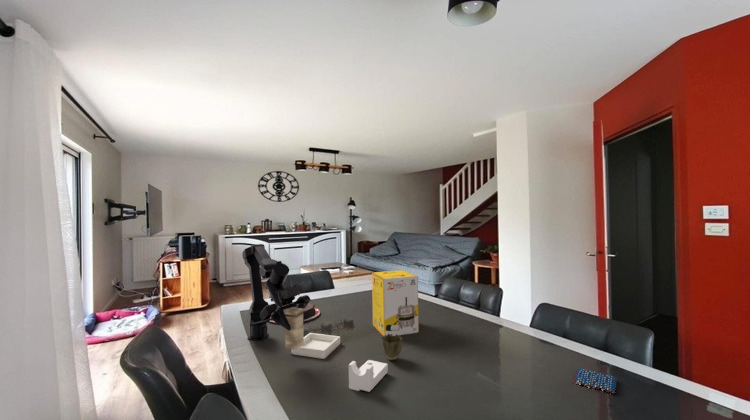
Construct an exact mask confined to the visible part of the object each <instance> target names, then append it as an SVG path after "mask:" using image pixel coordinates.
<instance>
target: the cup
mask: <svg viewBox="0 0 750 420" xmlns="http://www.w3.org/2000/svg"><path fill="white" fill-rule="evenodd" d="M381 341H382V342H381V343H382V348H383V353H384V354H385V355H386V356H387V360H389V362H394V361H397V360H398V356H399V355H400V354H401V351H402V346H403V345H402V344H403V337H402V335H397V334H396V336H392V334H391V335H390V334H388V335H387V336H386V335H385V337H384V336H383V335H382V337H381Z"/></svg>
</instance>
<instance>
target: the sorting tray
mask: <svg viewBox="0 0 750 420" xmlns="http://www.w3.org/2000/svg"><path fill="white" fill-rule="evenodd" d="M303 340H304V345H303V346H301V347H300V348H299V349H297V350H293V349H290V351H291V352H290V354H291V355H295V356H302V357H309V358H315V359H322V360H325V359H326V358H327V357H328V356H329V355H330V354H332V352H334V351H335V349H336V348H338V347H339V346H340V345H341V336H338V335H331V334H330V335H329V334H323V333H315V332H309V333H307V334H306V335H305V336H303Z"/></svg>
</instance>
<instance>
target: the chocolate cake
mask: <svg viewBox="0 0 750 420" xmlns="http://www.w3.org/2000/svg"><path fill="white" fill-rule="evenodd" d="M315 306H316V305H315V304H314V303H310V302H309V303H308V305H307V306H306V307H305V308H304V309H303V315H304V322H306V323H307V322H308V321H309V322H310V321H313V320H314V319H316V318H317V317H318V316H319V315H320V314H321V311H320V309H319V308H316V307H315ZM287 310H288V309H287ZM285 311H286V310H284V315H285ZM270 319H271V317H270ZM269 323H273V324H275V325H279V324H278V323H276V322H274V321H270V322H269Z"/></svg>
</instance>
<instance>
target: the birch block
mask: <svg viewBox="0 0 750 420" xmlns="http://www.w3.org/2000/svg"><path fill="white" fill-rule="evenodd" d="M285 317H286V319H287V321H288V323H289V325H290V328H291V329H290V330H289V331H288V330H287V329H286V328H284V331H285V332H284V335H285V336H284V337H285V339H284V341H285V345H284V347H285V349H286V350H291V349H293V350H297V349H299V348H300V347H301V346H303V345H304V340H303V337H304V325H303V308H293V307H292V308H290V309H288V310H286V311H285Z"/></svg>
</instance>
